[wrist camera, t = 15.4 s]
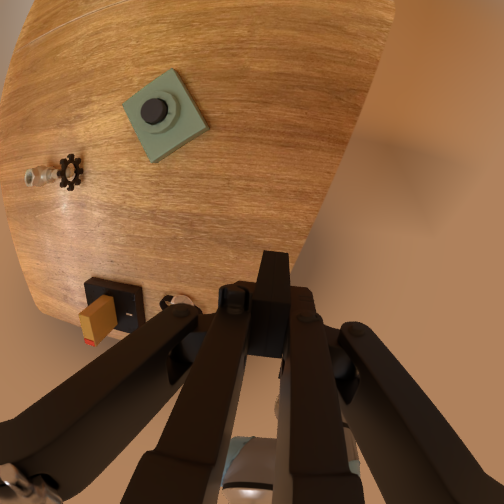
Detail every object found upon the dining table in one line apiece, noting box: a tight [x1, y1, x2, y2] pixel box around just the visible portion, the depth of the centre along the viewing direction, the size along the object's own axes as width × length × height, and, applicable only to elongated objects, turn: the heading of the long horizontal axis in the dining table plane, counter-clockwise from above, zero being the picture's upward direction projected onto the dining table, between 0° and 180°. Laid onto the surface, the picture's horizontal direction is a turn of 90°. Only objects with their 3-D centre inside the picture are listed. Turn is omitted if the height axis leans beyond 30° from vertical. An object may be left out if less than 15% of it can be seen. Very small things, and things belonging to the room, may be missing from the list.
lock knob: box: [78, 295, 118, 347], centre depth 41 cm, size 6×2×8 cm, turn 177°
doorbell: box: [122, 68, 210, 163], centre depth 35 cm, size 12×10×4 cm
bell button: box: [140, 98, 167, 123], centre depth 33 cm, size 4×4×2 cm
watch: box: [160, 295, 203, 314], centre depth 45 cm, size 8×5×4 cm, turn 71°
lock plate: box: [84, 277, 146, 333], centre depth 47 cm, size 12×9×3 cm
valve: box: [24, 154, 83, 191], centre depth 38 cm, size 7×7×12 cm
